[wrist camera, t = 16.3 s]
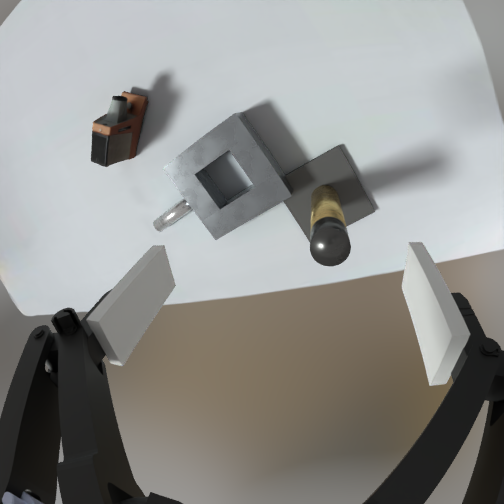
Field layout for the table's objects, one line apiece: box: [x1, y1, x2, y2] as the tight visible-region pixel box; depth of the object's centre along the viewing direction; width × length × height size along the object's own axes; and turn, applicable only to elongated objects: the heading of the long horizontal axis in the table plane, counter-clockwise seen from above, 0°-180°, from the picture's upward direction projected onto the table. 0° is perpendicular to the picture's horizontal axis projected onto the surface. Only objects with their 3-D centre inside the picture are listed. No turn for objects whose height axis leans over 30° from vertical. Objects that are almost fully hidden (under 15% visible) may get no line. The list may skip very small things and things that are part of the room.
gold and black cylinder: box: [310, 185, 351, 266], centre depth 32 cm, size 4×4×14 cm
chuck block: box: [153, 112, 293, 240], centre depth 39 cm, size 20×12×4 cm, turn 125°
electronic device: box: [91, 91, 148, 167], centre depth 35 cm, size 4×10×8 cm, turn 160°
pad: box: [284, 145, 375, 242], centre depth 38 cm, size 10×10×1 cm
